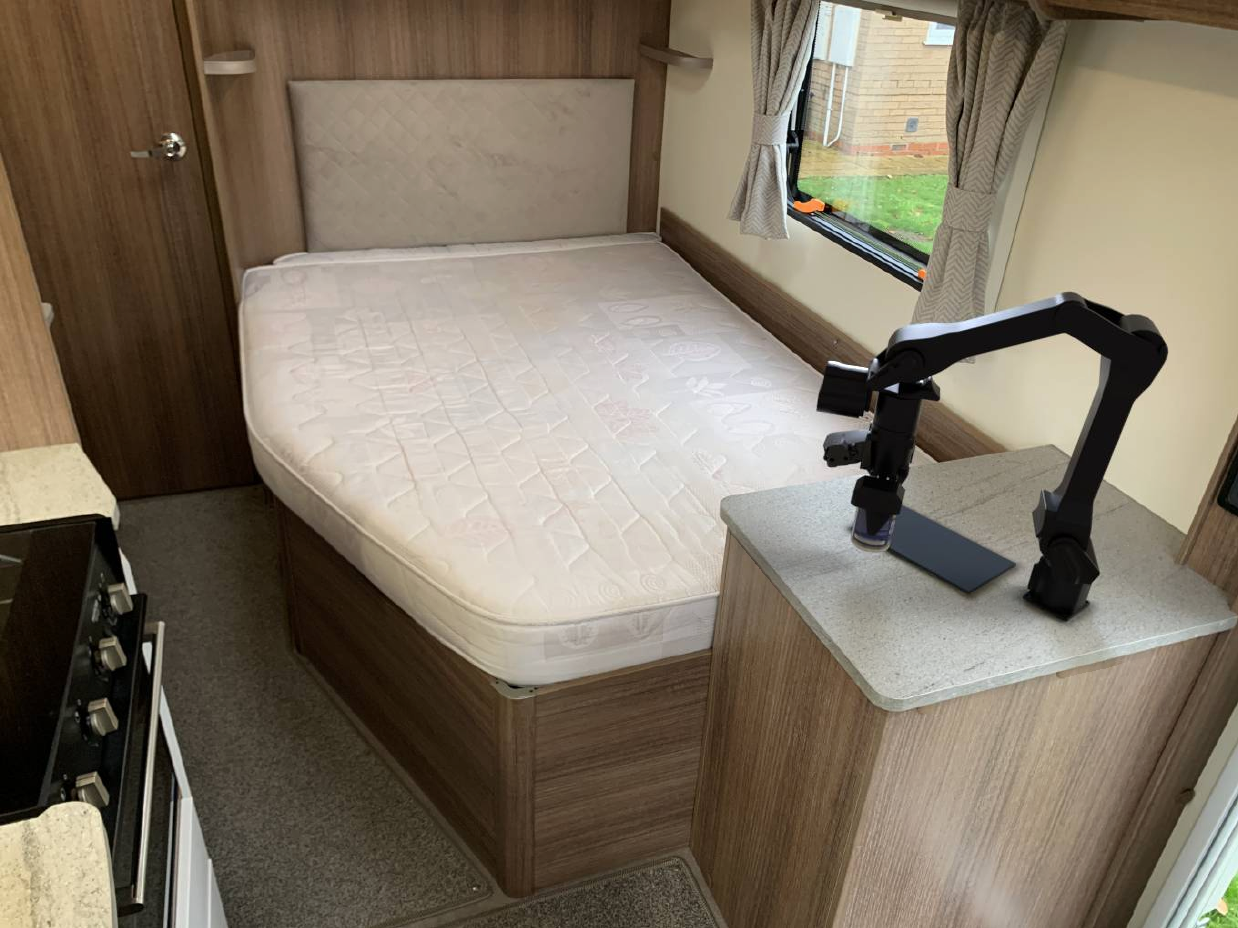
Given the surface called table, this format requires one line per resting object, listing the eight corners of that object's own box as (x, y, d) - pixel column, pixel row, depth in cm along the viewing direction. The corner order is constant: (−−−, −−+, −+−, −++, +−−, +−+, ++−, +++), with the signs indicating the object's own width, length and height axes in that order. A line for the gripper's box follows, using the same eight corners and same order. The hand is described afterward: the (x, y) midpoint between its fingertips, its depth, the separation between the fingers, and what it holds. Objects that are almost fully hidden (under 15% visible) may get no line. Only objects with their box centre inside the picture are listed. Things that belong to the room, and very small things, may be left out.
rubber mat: (1015, 566, 136) (1016, 563, 136) (968, 594, 129) (968, 591, 129) (899, 506, 149) (900, 503, 149) (851, 529, 142) (851, 526, 142)
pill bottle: (893, 555, 131) (907, 493, 126) (854, 552, 130) (866, 491, 126) (884, 534, 135) (897, 474, 131) (846, 531, 135) (858, 471, 131)
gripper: (844, 386, 134) (827, 482, 142) (821, 439, 119) (802, 544, 126) (925, 401, 131) (903, 499, 138) (912, 458, 115) (888, 565, 123)
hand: (873, 524), depth 131 cm, fingers closed on pill bottle, 5 cm apart
